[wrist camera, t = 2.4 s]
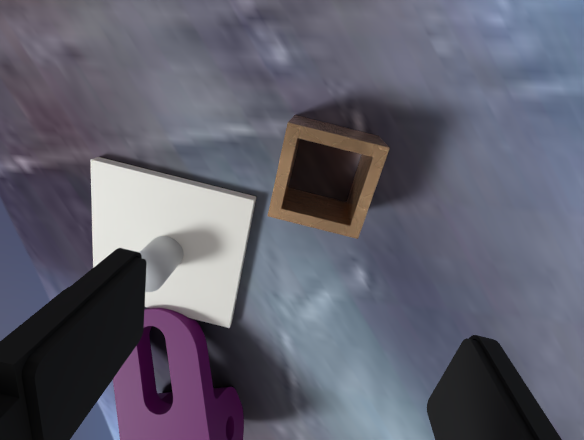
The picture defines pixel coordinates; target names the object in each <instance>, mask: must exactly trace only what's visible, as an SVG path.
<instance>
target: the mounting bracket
mask: <svg viewBox="0 0 584 440" xmlns="http://www.w3.org/2000/svg"><path fill="white" fill-rule="evenodd" d="M152 326H155V327H157V328H159V329H160V330H161V331H162V332H163V334H164V336H165V340H166V347H167V354H168V362H169V369H170V377H171V384H172V392H169V393H157V391H156V384H155V376H154V368H153V361H152V353H151V345H150V337H149V334H150V329H151V327H152ZM113 384H114V392H115V400H116V409H117V417H118V426H119V434H120V440H243V432H244V417H243V408H242V404H241V401H240V399H239V397H238V394H237V392H236V389H235V388H233V387H224V388H213V384H212V377H211V370H210V363H209V356H208V349H207V343H206V339H205V336H204V333H203V331H202V329H201V327H200V326H199V324H198V323H197V321H196V320H195V319H191V318H188V317H186V316H185V315H183V314H181V313H178V312H176V311H173V310H170V309H165V308H148V309H145V310H144V330H143V334H142V337H141V339H140V341H139V343H138V344H137V346H136V347H135V349H134V350H133V351H132V353H131V354H130V356H129V357H128V358H127V360H126V361H125V363H124V364H123V365H122V367H121V368H120V370H119V371H118V372H117V374H116V375H115V377H114V378H113Z"/></svg>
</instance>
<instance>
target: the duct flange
mask: <svg viewBox="0 0 584 440" xmlns="http://www.w3.org/2000/svg"><path fill="white" fill-rule="evenodd" d="M91 194H92V235H93V268H94V267H95V266H96V265H97V264H99V263H100V262H101V261H102V260H104V259H105V258H106V257H107V256H109V255H110V254H111V253H112V252H113V251H115V250H116V249H118V248H123V249H127V250H132V251H136V252H139V253H141V256H142V259H145V260H146V263H147V265H146V287H145V307H147V308H165V309H170V310H173V311H176V312H178V313H181V314H183V315H185V316H186V317H188V318H191V319H195V320H199V321H203V322H207V323H211V324H215V325H219V326H223V327H227V328H230V326H231V323H232V320H233V314H234V309H235V304H236V299H237V294H238V289H239V284H240V279H241V274H242V268H243V263H244V258H245V253H246V248H247V243H248V238H249V233H250V227H251V222H252V217H253V212H254V207H255V202H256V196H252V195H248V194H244V193H240V192H236V191H232V190H228V189H224V188H220V187H216V186H212V185H208V184H204V183H200V182H196V181H192V180H188V179H184V178H180V177H176V176H172V175H168V174H164V173H160V172H156V171H152V170H148V169H144V168H140V167H137V166H133V165H129V164H125V163H121V162H117V161H113V160H109V159H105V158H101V157H97V158H94V159H91Z"/></svg>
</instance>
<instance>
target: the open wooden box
mask: <svg viewBox="0 0 584 440" xmlns="http://www.w3.org/2000/svg"><path fill="white" fill-rule="evenodd" d="M300 139H303V140H307V141H311V142H315V143H319V144H323V145H327V146H331V147H335V148H339V149H343V150H347V151H351V152H355V153H359V154H361V157H360V161H359V164H358V167H357V170H356V173H355V176H354V180H353V183H352V186H351V189H350V192H349V195H348V198H347V202H345V201H341V200H337V199H333V198H329V197H325V196H321V195H317V194H313V193H309V192H305V191H301V190H297V189H293V188H289V184H290V179H291V175H292V171H293V167H294V162H295V158H296V154H297V150H298V145H299V141H300ZM388 151H389V147H388V146H387V144H386V143H385V142H384V141H383V140H382V139H381V138H380V137H379V136H377V135H373V134H369V133H365V132H361V131H357V130H353V129H349V128H345V127H341V126H337V125H333V124H329V123H325V122H321V121H317V120H313V119H309V118H306V117H302V116H298V115H294V116H293V118H292V119H291V120H290V121H289V122H288V124H287V129H286V133H285V138H284V143H283V147H282V152H281V157H280V161H279V166H278V170H277V175H276V180H275V184H274V189H273V194H272V198H271V203H270V208H269V212H268V216H269V217H273V218H277V219H281V220H285V221H289V222H293V223H297V224H301V225H305V226H309V227H313V228H317V229H321V230H325V231H329V232H333V233H337V234H341V235H345V236H349V237H353V238H357V239H358V237H359V234H360V231H361V228H362V226H363V223H364V220H365V217H366V214H367V211H368V208H369V206H370V203H371V200H372V197H373V194H374V191H375V188H376V186H377V183H378V180H379V177H380V174H381V171H382V168H383V166H384V163H385V160H386V157H387V154H388Z"/></svg>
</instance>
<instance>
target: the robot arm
mask: <svg viewBox="0 0 584 440" xmlns="http://www.w3.org/2000/svg"><path fill="white" fill-rule="evenodd" d="M146 265H147V263H146V260H145V259H142V256H141V253H139V252H136V251H132V250H127V249H123V248H118V249H116V250H115V251H113V252H112V253H111V254H110V255H109V256H107V257H106V258H105V259H104V260H102V261H101V262H100V263H99V264H97V265H96V266H95V267H94V268H93V269H91V270H90V271H89V272H88V273H86V274H85V275H84V276H83V277H81V278H80V279H79V280H78V281H77V282H75V283H74V284H73V285H72V286H70V287H68V288H67V289H65V290H63V291H62V292H61V293H60V294H59V295H57V296H56V297H55V298H54V299H52V300H51V301H50V302H49V303H48V304H46V305H45V306H44V307H42V308H41V309H40V310H39V311H38V312H36V313H35V314H34V315H32V316H31V317H30V318H29V319H28V320H26V321H25V322H24V323H23V324H22V325H20V326H19V327H18V328H16V329H15V330H14V331H13V332H11V333H10V334H9V335H8V336H7V337H5V338H4V339H3V340H2V341H0V440H70V439H71V437H72V436H73V434H74V433H75V432H76V430H77V429H78V427H79V426H80V424H81V423H82V422H83V420H84V419H85V417H86V416H87V415H88V413H89V412H90V410H91V409H92V408H93V406H94V405H95V403H96V402H97V401H98V399H99V398H100V396H101V395H102V394H103V392H104V391H105V389H106V388H107V387H108V385H109V384H110V382H111V381H112V379H113V378H114V377H115V375H116V374H117V372H118V371H119V370H120V368H121V367H122V365H123V364H124V363H125V361H126V360H127V358H128V357H129V356H130V354H131V353H132V351H133V350H134V349H135V347H136V346H137V344H138V343H139V341H140V339H141V337H142V334H143V330H144V309H145V287H146ZM427 413H428V416H429V420H430V423H431V426H432V430H433V433H434V436H435V440H562V439H561V438H560V436H559V435H558V433H557V432H556V430H555V429H554V427H553V426H552V424H551V423H550V421H549V419H548V418H547V416H546V415H545V413H544V412H543V410H542V409H541V407H540V406H539V404H538V403H537V401H536V399H535V398H534V396H533V395H532V393H531V392H530V390H529V389H528V387H527V386H526V384H525V383H524V381H523V379H522V378H521V376H520V375H519V373H518V372H517V370H516V369H515V367H514V366H513V364H512V363H511V361H510V359H509V358H508V356H507V355H506V353H505V352H504V350H503V349H502V347H501V346H500V344H499V343H498V342H497V341H496V340H493V339H489V338H485V337H481V336H477V335H473V336H471V337H470V338H469V339H464V340H463V342H462V343H461V345H460V347H459V349H458V350H457V352H456V354H455V355H454V357H453V359H452V360H451V362H450V364H449V366H448V367H447V369H446V371H445V372H444V374H443V376H442V378H441V379H440V381H439V383H438V384H437V386H436V388H435V389H434V391H433V393H432V395H431V396H430V398H429V400H428V403H427Z"/></svg>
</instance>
